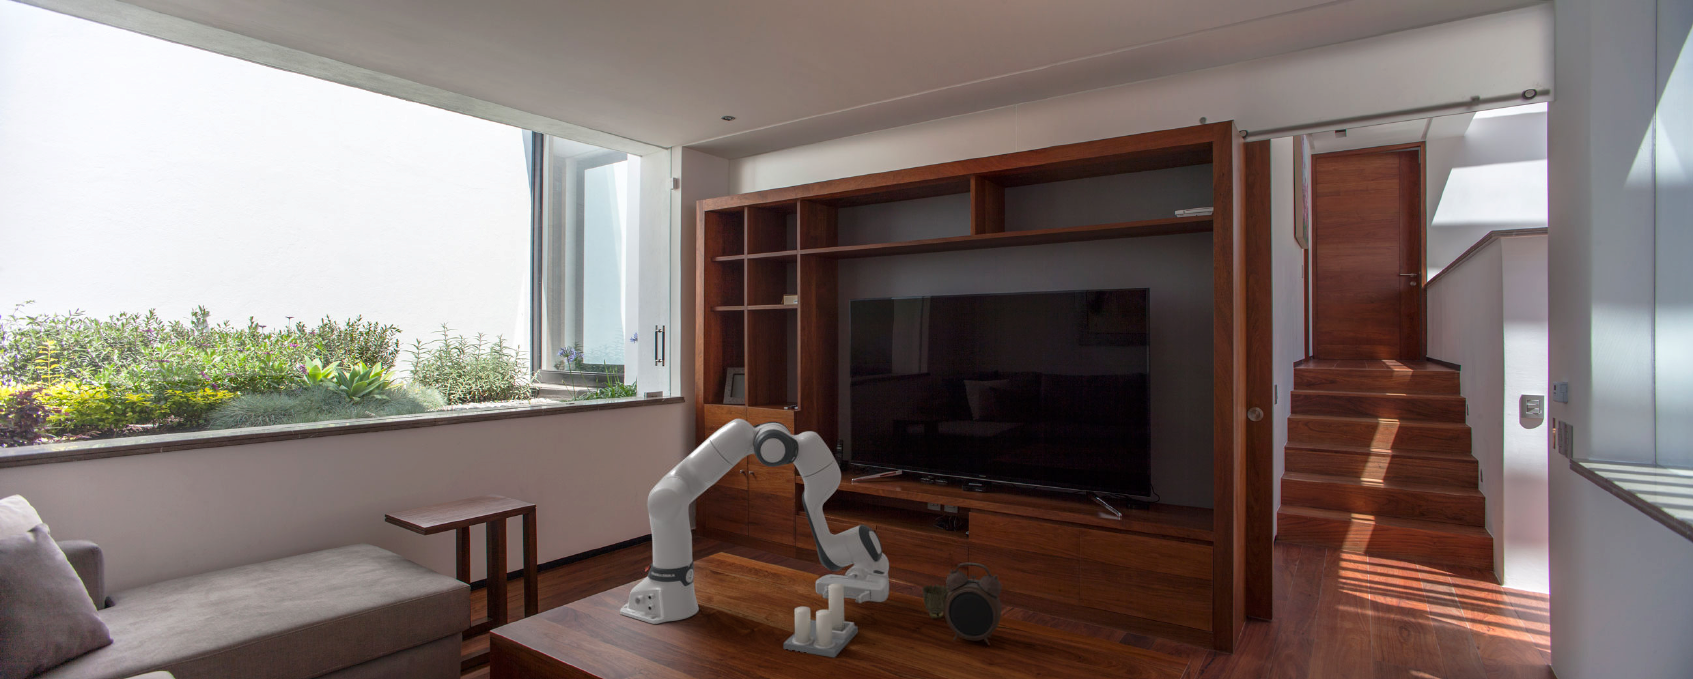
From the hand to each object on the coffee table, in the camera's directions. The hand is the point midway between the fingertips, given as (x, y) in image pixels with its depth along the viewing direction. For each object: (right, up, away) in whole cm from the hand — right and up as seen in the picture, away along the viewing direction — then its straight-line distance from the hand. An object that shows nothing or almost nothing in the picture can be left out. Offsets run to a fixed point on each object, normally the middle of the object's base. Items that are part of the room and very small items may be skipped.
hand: (841, 598), depth 194 cm
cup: (+26, -9, +10) cm, 30 cm away
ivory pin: (-1, -8, -3) cm, 8 cm away
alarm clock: (+34, -9, -6) cm, 36 cm away
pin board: (-5, -9, -5) cm, 12 cm away
